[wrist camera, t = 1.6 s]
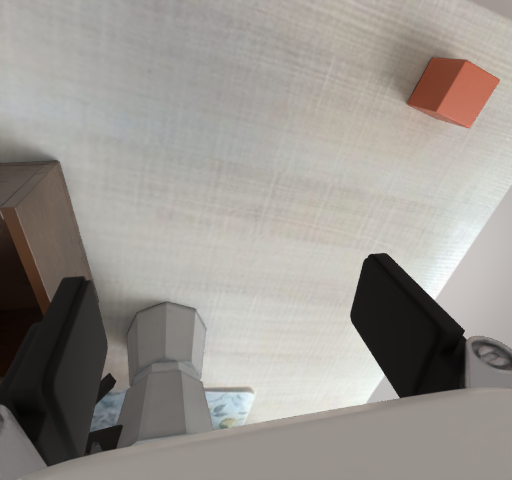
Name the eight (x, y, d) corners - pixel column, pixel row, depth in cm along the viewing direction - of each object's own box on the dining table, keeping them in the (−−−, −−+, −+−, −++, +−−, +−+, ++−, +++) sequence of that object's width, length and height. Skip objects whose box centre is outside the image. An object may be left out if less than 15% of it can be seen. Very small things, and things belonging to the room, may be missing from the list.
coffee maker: (234, 316, 39) (272, 492, 24) (203, 366, 42) (218, 550, 27) (100, 281, 33) (36, 487, 18) (76, 343, 36) (3, 562, 21)
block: (406, 104, 30) (435, 112, 27) (432, 57, 28) (466, 59, 25) (438, 119, 31) (469, 128, 28) (464, 75, 30) (501, 79, 26)
